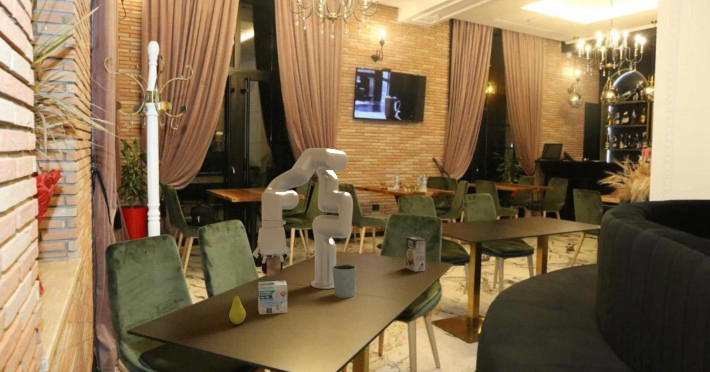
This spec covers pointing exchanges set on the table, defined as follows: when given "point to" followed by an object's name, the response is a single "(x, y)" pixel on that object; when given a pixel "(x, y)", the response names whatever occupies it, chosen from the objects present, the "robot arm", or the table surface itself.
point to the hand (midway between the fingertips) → (272, 271)
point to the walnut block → (273, 266)
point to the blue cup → (344, 280)
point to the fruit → (237, 311)
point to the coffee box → (415, 253)
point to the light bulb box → (272, 297)
